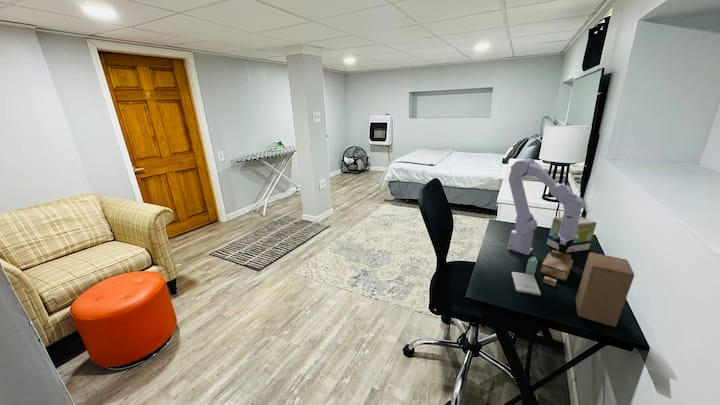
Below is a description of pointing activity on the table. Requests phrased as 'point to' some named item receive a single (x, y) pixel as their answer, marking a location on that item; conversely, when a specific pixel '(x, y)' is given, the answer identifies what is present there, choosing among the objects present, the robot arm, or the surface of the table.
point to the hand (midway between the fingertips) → (562, 253)
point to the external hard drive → (525, 283)
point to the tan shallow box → (553, 275)
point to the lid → (558, 261)
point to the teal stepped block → (531, 266)
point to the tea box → (583, 233)
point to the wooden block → (603, 288)
